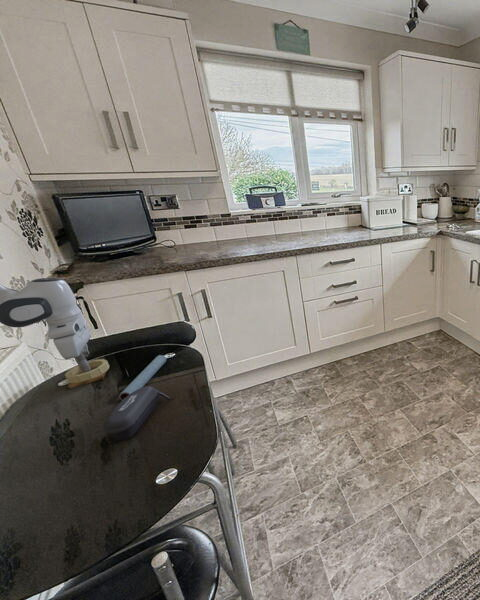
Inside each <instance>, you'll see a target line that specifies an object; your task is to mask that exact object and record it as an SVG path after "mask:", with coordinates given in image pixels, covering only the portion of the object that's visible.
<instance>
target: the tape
mask: <svg viewBox="0 0 480 600" xmlns="http://www.w3.org/2000/svg"><path fill="white" fill-rule="evenodd" d="M87 362H88V364H89V366H90V368H91V369H94V368H96V369H94V370H91V371H89V372H86V373H82V374H79V373H81V370H80V368H79V366H78V365H75V366H73V367H72V368H70V369H69V370H67V371H66V372H65V374H64V377H65V378H66V380H67V382H68V383H78V382H83V381H86V380H90V379H92V378H95V377H97V376H99V375H101V374H103V373H104V372H106V371H107V372H108V371H109V369H110V364H109V362H108V360H107V359H104V358H100V359H94V360H89V361H87ZM107 372H106V373H107ZM77 374H78V375H77Z"/></svg>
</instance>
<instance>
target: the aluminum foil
mask: <svg viewBox="0 0 480 600" xmlns="http://www.w3.org/2000/svg"><path fill="white" fill-rule="evenodd" d="M167 360H168V359H167V357H166V356H165V355H162V354H159V355H157V356H156V357H155V358H154V359H152V361H151V362H150V363H149V364H148V365H147V366H146V367H145V368H144V369H143V370H142V371H141V372H140V373H139V374H138V375H137V376H136V377H135V378H134V379H133V380H132V381H131V382H130V383H129V384H128V386H126V387H125V388H124V389H123V390H122V391H121V392H120V393H119V395H118V398H119V399H120V400H121V401H122V400H123V399H124V398H126V397H127V396H128V395H129V394H131V393H132V392H134V391H136V390H138V389H140V388H142V387H145V385H146V384H147V383H148V382H149V381H150V380H151V379H152V378H153V377H154V375H156V373H157V372H158V371H159V370H160V368H162V367H163V365H164V364H166V363H167Z"/></svg>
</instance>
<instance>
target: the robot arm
mask: <svg viewBox="0 0 480 600" xmlns="http://www.w3.org/2000/svg"><path fill="white" fill-rule="evenodd" d="M44 320H45V322H46V324H47V337H48V339H49V340H53V345H54V346H55V348H56V350H57V351H58V353H59V355H60V356H61V357H62V358H63V360H70V359H75V357H78V356H79V355H80V353H81V352H83V354H84V356H85V358H86V359H87V358H88V357H89V356H90V352H89V347H88V342H89V341H90V339H91V337H92V334H91V333H92V332H91V331H90V329H89V327H88V322H87V319H86V318H85V316H84V313H83V311H82V310H81V308H79V305H78V303H77V298H76V296H75V294H74V292H73V290H72V288H71V287H70V285H69V284H68V282H66V280H63V279H61V278H57V277H42V278H40V277H39V278H35V279H32V280H30V282H29V283H28V284H26V285H25V286H24V287H23V288H21V289H20V290H17V289H13V288H9V287H6V286H4V285H2V284H0V324H2V325H4V326H6V327H9V328H25V327H28V326H32V325H34V324H36V323H39V322H41V321H44Z"/></svg>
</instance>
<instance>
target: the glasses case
mask: <svg viewBox="0 0 480 600" xmlns="http://www.w3.org/2000/svg"><path fill="white" fill-rule="evenodd" d="M159 396H162V397H163V398H165V399H167V400H169V401H170V400H171V397H169V396H168V395H167V394H165V393H163V392H161V391H160V390H158V389H156V388H154V386H148V385H147V386H143V387H142V388H140V389H138V390H136V391H134V392H132V393H131V394H129V395H128V396H127V397H126V398H124V399H123V400H121V401H120V402H119V403H118V404H117V405H115V407H114V408H113V410H111V412H110V413H109V415H108V417H107V418H106V421H105V422H104V425H103V426H104V427H103V431H104V433H105V434H106V435H108V436H111V437H112V438H113V439H114V440H116V441H117V442H119V441H120V442H121V441H125V440H128V439H130V438H132V437H133V436H134V435H136V433H137V432H138V430H139V429H140V428H141V427H142V426H143V424H144V423H145V422H146V420H147V419H148V418H149V416H150V415H151V414H153V411H154V410H155V409H156V408H157V406H158V403H159Z"/></svg>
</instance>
